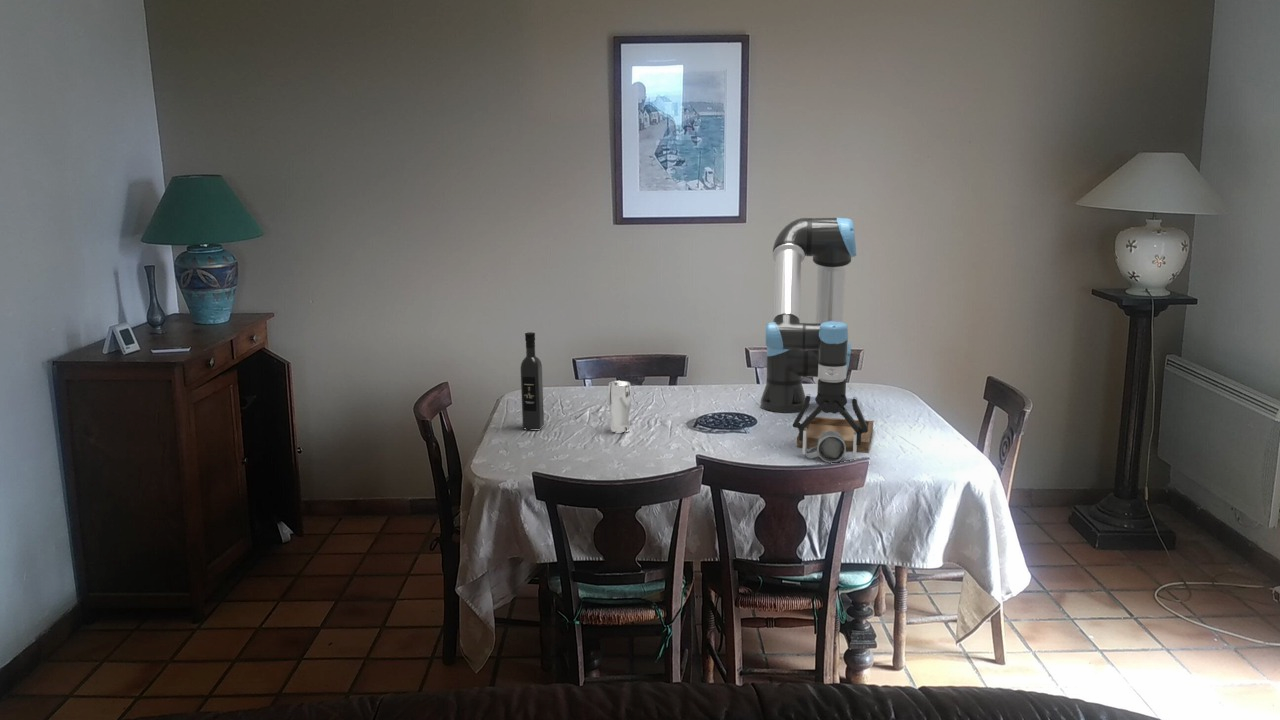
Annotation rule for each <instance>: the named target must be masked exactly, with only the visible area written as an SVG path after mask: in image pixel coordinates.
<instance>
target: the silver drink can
mask: <svg viewBox="0 0 1280 720" xmlns="http://www.w3.org/2000/svg"><path fill="white" fill-rule="evenodd" d="M607 393H608V394H607V397H608V398H607V399H608V407H609V412H610V419H611V424H610V430H612V431H617V432H624V431H627V430H629V429H630V430H631V427H630V419H629V418H630V413H631V406H632V388H631V382H629V381H627V380H614V381H611V382H610V381H609V383H608V392H607Z"/></svg>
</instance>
